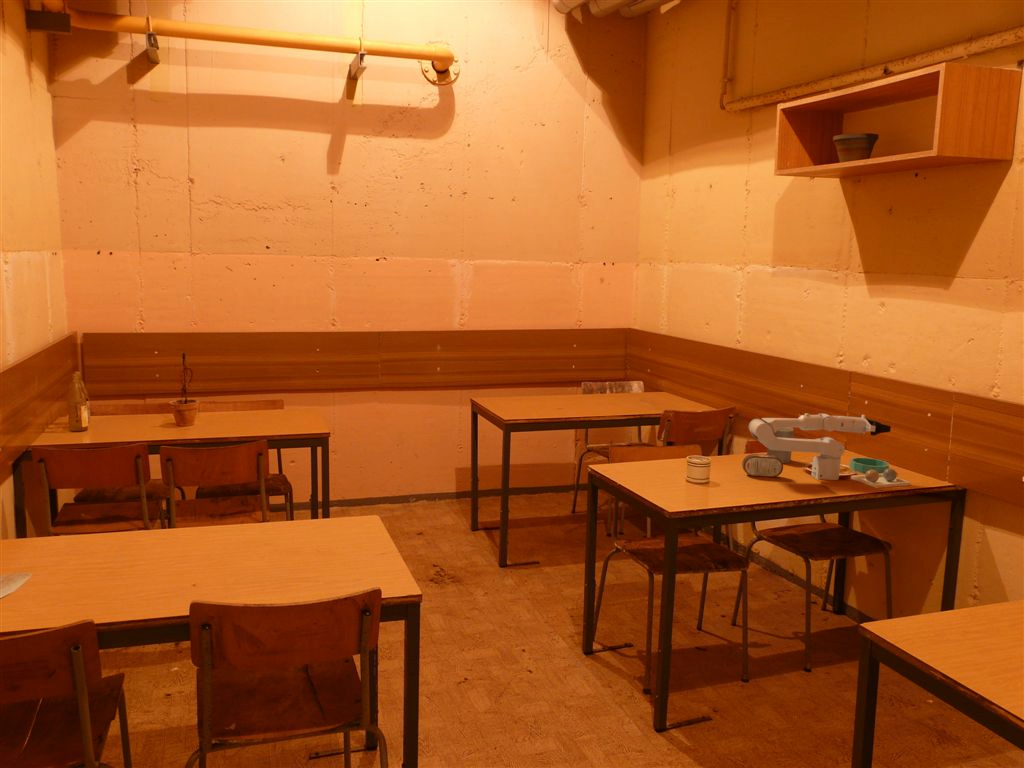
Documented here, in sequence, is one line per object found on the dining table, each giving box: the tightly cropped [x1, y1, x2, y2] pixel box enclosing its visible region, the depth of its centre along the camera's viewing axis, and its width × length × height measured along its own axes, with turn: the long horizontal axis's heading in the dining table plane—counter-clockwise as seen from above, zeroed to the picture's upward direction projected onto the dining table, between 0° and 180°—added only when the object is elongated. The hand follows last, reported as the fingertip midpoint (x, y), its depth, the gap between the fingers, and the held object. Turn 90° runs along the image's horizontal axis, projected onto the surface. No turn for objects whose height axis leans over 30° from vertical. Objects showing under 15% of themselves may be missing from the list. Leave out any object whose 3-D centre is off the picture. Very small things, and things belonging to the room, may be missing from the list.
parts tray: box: [850, 473, 911, 489], centre depth 310 cm, size 16×13×2 cm
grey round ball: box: [883, 467, 898, 481], centre depth 312 cm, size 5×5×5 cm
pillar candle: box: [766, 427, 795, 464], centre depth 340 cm, size 10×10×15 cm
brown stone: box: [864, 470, 879, 483], centre depth 309 cm, size 5×5×5 cm
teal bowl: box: [849, 457, 890, 474], centre depth 328 cm, size 14×14×4 cm
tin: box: [741, 453, 784, 478], centre depth 314 cm, size 15×3×8 cm, turn 84°
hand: (885, 427), depth 312 cm, fingers open, 7 cm apart
